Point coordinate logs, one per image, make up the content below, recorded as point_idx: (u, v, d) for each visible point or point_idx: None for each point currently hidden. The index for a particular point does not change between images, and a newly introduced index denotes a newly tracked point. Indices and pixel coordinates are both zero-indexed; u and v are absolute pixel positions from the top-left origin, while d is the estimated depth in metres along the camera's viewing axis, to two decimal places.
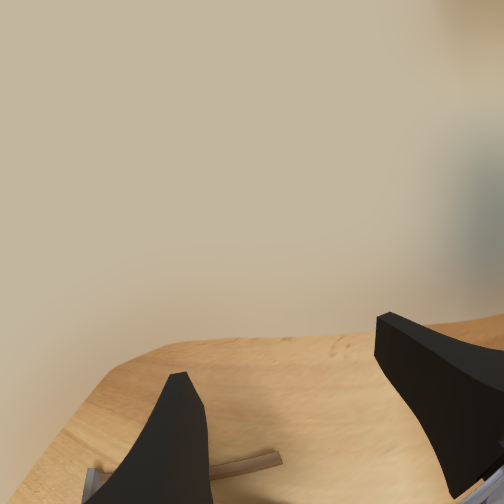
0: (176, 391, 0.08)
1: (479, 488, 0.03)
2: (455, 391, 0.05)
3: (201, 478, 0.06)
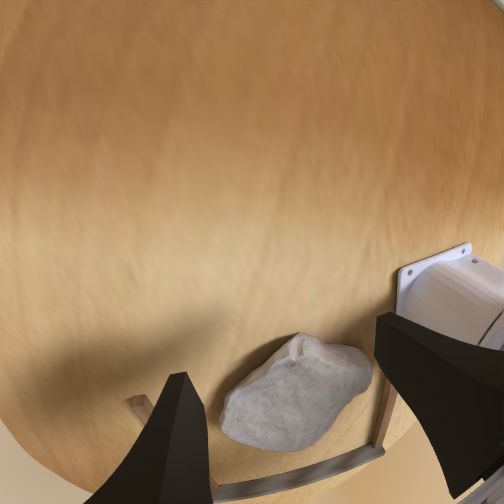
0: (176, 391, 0.08)
1: (479, 488, 0.03)
2: (455, 391, 0.05)
3: (201, 478, 0.06)
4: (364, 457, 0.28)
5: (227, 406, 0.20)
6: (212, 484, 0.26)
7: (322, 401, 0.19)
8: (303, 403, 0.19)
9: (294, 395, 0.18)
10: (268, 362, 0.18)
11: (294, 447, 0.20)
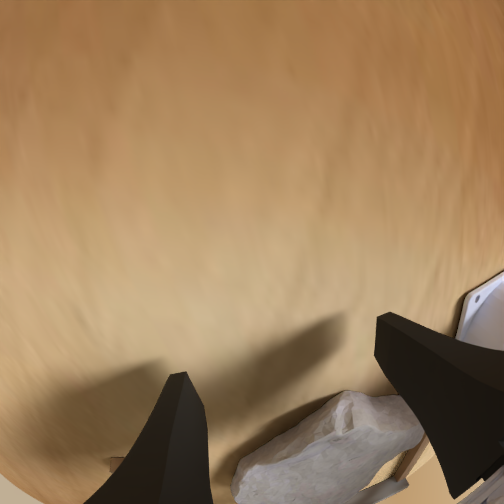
0: (176, 391, 0.08)
1: (479, 488, 0.03)
2: (455, 391, 0.05)
3: (201, 478, 0.06)
4: (386, 492, 0.21)
5: (242, 479, 0.12)
6: None
7: (364, 467, 0.12)
8: (343, 472, 0.12)
9: (333, 468, 0.11)
10: (303, 437, 0.11)
11: None
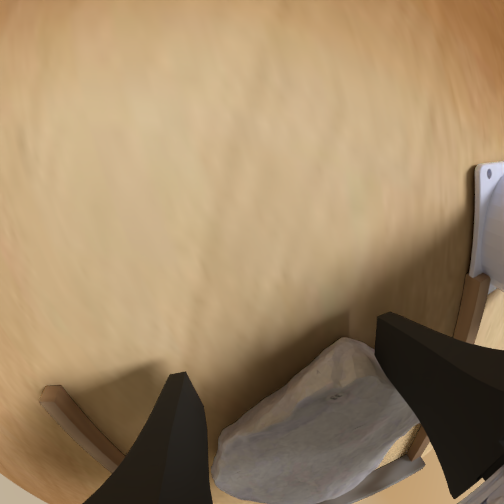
0: (175, 390, 0.08)
1: (479, 488, 0.03)
2: (455, 391, 0.05)
3: (201, 478, 0.06)
4: (399, 474, 0.18)
5: (222, 456, 0.11)
6: None
7: (372, 442, 0.10)
8: (346, 448, 0.10)
9: (333, 441, 0.10)
10: (291, 394, 0.10)
11: (324, 500, 0.11)
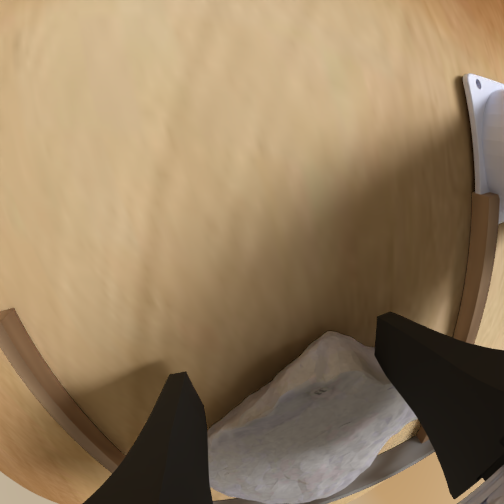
0: (175, 391, 0.08)
1: (479, 488, 0.03)
2: (455, 391, 0.05)
3: (201, 478, 0.06)
4: (409, 458, 0.16)
5: (208, 451, 0.11)
6: None
7: (362, 439, 0.10)
8: (334, 446, 0.10)
9: (320, 438, 0.10)
10: (274, 388, 0.10)
11: (315, 498, 0.11)
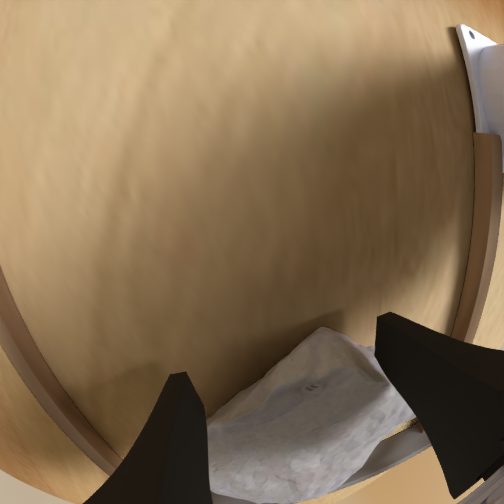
0: (176, 391, 0.08)
1: (479, 488, 0.03)
2: (455, 391, 0.05)
3: (201, 478, 0.06)
4: (408, 449, 0.15)
5: None
6: None
7: (354, 439, 0.10)
8: (325, 445, 0.10)
9: (311, 436, 0.10)
10: (265, 382, 0.09)
11: (305, 499, 0.11)
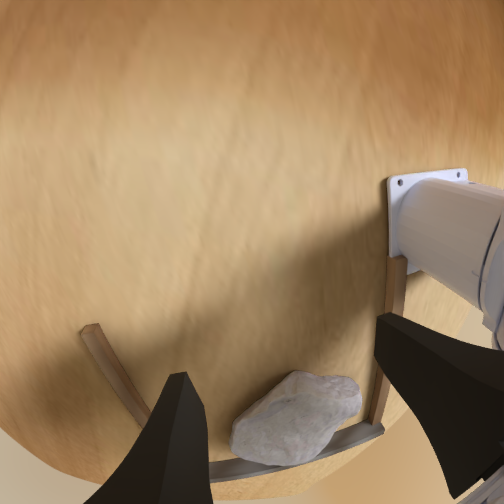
0: (176, 391, 0.08)
1: (479, 488, 0.03)
2: (455, 391, 0.05)
3: (201, 478, 0.06)
4: (360, 435, 0.26)
5: (235, 432, 0.22)
6: None
7: (317, 426, 0.21)
8: (300, 428, 0.21)
9: (291, 423, 0.20)
10: (267, 398, 0.20)
11: (295, 462, 0.22)
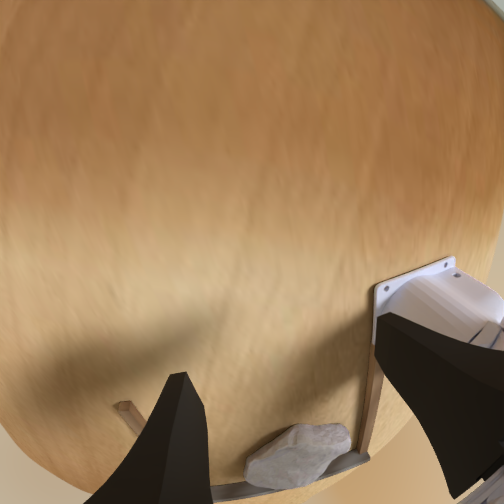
0: (176, 391, 0.08)
1: (479, 488, 0.03)
2: (455, 391, 0.05)
3: (201, 478, 0.06)
4: (349, 463, 0.29)
5: (248, 468, 0.25)
6: None
7: (313, 462, 0.24)
8: (300, 464, 0.24)
9: (293, 462, 0.23)
10: (274, 447, 0.23)
11: (297, 487, 0.25)
